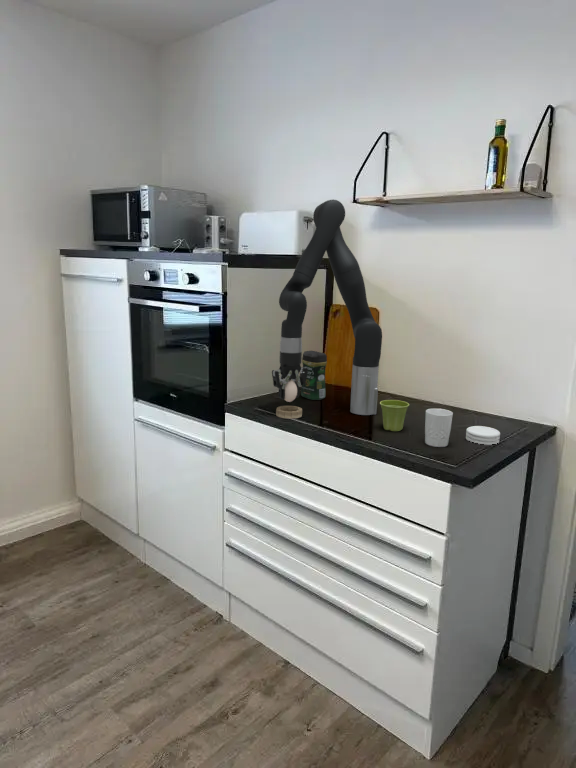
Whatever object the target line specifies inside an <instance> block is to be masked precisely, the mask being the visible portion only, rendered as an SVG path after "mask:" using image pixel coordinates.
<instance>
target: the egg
mask: <svg viewBox="0 0 576 768" xmlns="http://www.w3.org/2000/svg"><path fill="white" fill-rule="evenodd" d="M284 389H285V399H284V401H286V402H287V403H288V402H289V403H291V402H293V401H294V400H295V399H296V396H297V386H296V384H295V382H294V381H293V380H292V379H290V380H288V383H286V386H285V388H284Z"/></svg>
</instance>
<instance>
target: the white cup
mask: <svg viewBox="0 0 576 768" xmlns="http://www.w3.org/2000/svg"><path fill="white" fill-rule="evenodd" d="M453 415H454V412H453V411H451V410H448V409H444V408H428V409H425V417H424V418H425V419H424V420H425V421H424V422H425V424H424V425H425V426H424V434H425V435H424V436H425V437H424V443H425V445H428V446H430V447H436V448H437V447H438V448H445V447H447V446H448V445H449V441H450V439H449V438H450V436H451V430H452V423H453Z"/></svg>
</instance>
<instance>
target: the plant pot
mask: <svg viewBox="0 0 576 768" xmlns="http://www.w3.org/2000/svg"><path fill="white" fill-rule="evenodd" d="M379 405H380V407H381V408H380V409H381V412H382V424H383V429H384V430H385V431H390V432H400V431H401V430H403V427H404V425H405V424H404V423H405V422H404V421H405V418H406V413H407V411H408V408H409V407H410V403H408V402H407V401H403V400H398V399H385V400H381V401H380V402H379Z"/></svg>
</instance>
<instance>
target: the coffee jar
mask: <svg viewBox="0 0 576 768" xmlns="http://www.w3.org/2000/svg"><path fill="white" fill-rule="evenodd" d="M327 358H328V357H327V354H326V353H324V352H321V351H316V350H307V351H304V352H302V360H301V364H302V367H305V368H308V372H307V377H306V382H305V385H302V386H301V387H300V395H301V397H303V398H305V399H307V400H314V401H316V400H317V401H320V400H323V399H325V398H326V367H327V364H328V359H327Z"/></svg>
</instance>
